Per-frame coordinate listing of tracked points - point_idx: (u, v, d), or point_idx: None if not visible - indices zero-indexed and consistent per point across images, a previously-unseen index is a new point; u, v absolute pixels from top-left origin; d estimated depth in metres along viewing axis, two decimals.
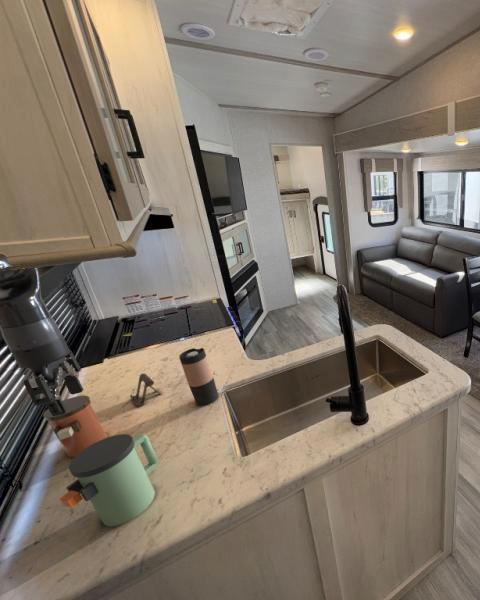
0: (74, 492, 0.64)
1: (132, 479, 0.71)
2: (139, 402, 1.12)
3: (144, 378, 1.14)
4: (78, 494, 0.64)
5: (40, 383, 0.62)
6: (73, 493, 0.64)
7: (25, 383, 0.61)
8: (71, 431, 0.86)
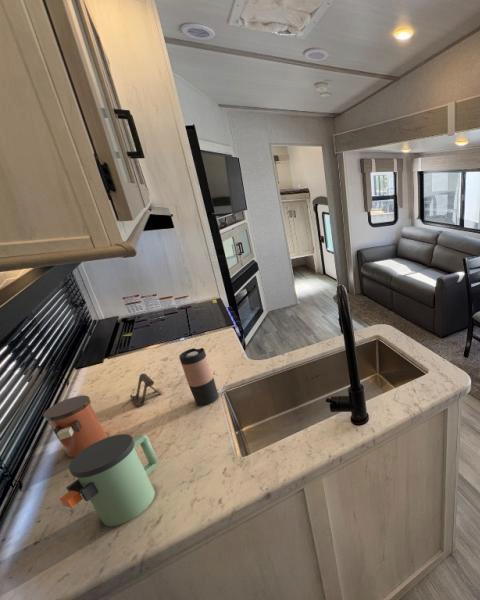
0: (74, 492, 0.64)
1: (132, 479, 0.71)
2: (139, 402, 1.12)
3: (144, 378, 1.14)
4: (78, 494, 0.64)
5: None
6: (73, 493, 0.64)
7: None
8: (71, 431, 0.86)
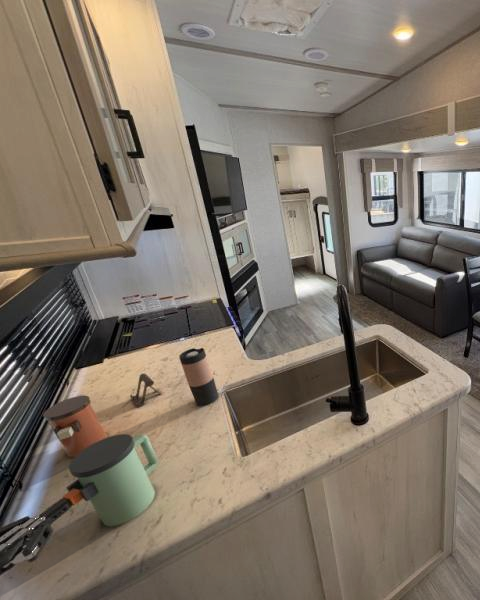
0: (76, 490, 0.65)
1: (132, 479, 0.71)
2: (139, 402, 1.12)
3: (144, 378, 1.14)
4: None
5: None
6: (75, 492, 0.64)
7: None
8: (71, 431, 0.86)
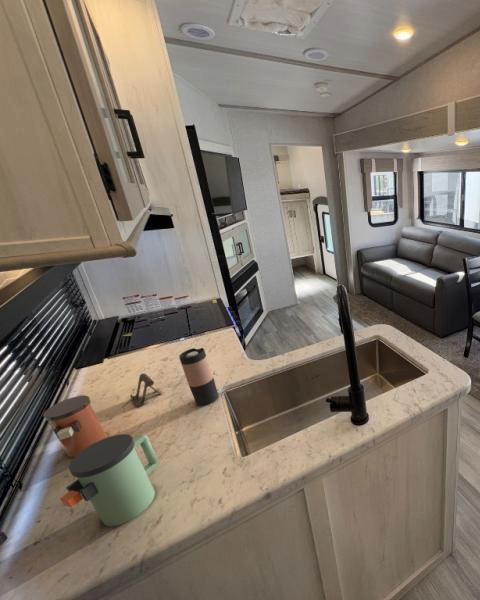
0: (74, 492, 0.64)
1: (132, 479, 0.71)
2: (139, 402, 1.12)
3: (144, 378, 1.14)
4: (78, 494, 0.64)
5: None
6: (73, 493, 0.64)
7: None
8: (71, 431, 0.86)
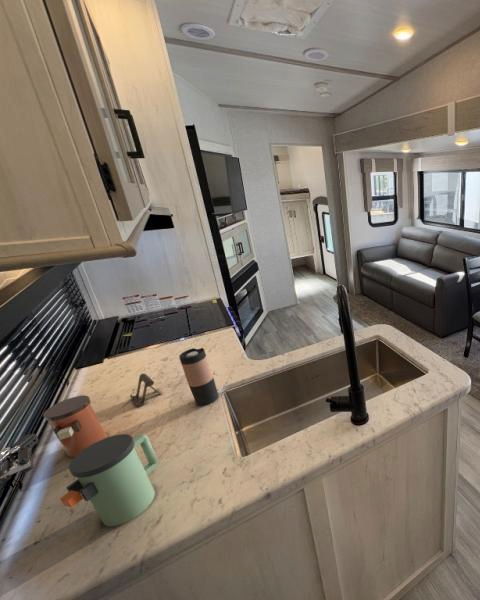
0: (74, 492, 0.64)
1: (132, 479, 0.71)
2: (139, 402, 1.12)
3: (144, 378, 1.14)
4: (78, 494, 0.64)
5: None
6: (73, 493, 0.64)
7: None
8: (71, 431, 0.86)
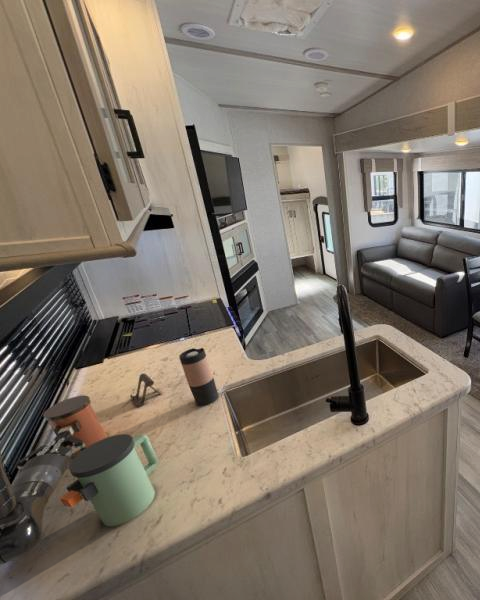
0: (74, 492, 0.64)
1: (132, 479, 0.71)
2: (139, 402, 1.12)
3: (144, 378, 1.14)
4: (78, 494, 0.64)
5: None
6: (73, 493, 0.64)
7: None
8: (72, 430, 0.87)
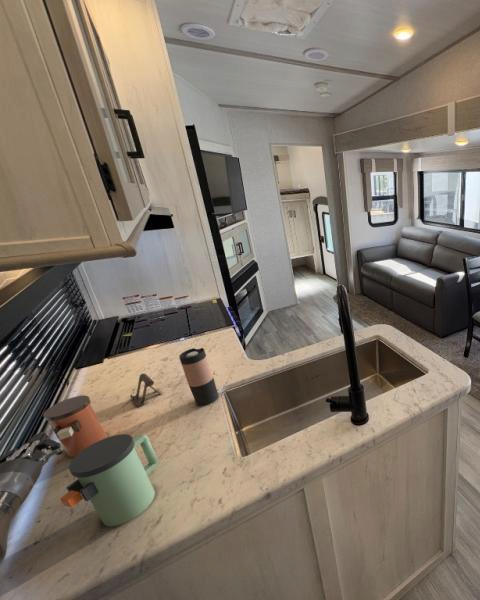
0: (74, 492, 0.64)
1: (132, 479, 0.71)
2: (139, 402, 1.12)
3: (144, 378, 1.14)
4: (78, 494, 0.64)
5: None
6: (73, 493, 0.64)
7: None
8: (71, 431, 0.86)
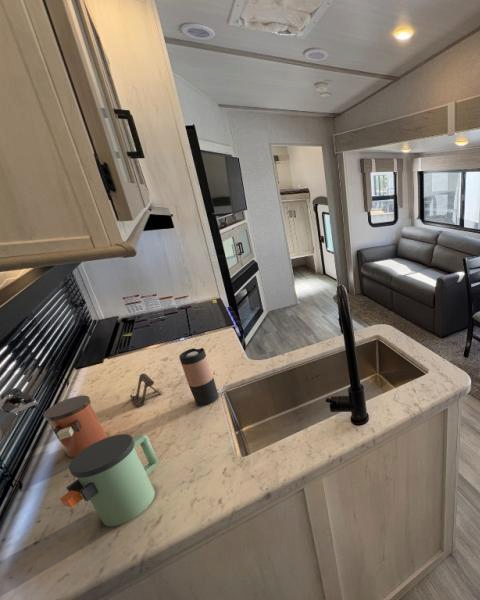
0: (74, 492, 0.64)
1: (132, 479, 0.71)
2: (139, 402, 1.12)
3: (144, 378, 1.14)
4: (78, 494, 0.64)
5: None
6: (73, 493, 0.64)
7: None
8: (71, 431, 0.86)
